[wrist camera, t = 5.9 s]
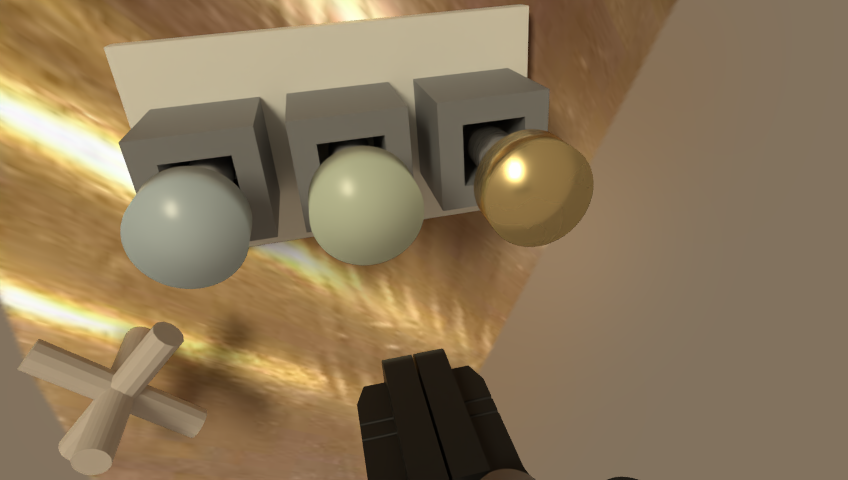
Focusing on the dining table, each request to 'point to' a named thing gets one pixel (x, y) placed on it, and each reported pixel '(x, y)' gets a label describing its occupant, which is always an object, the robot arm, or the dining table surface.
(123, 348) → the pipe connector
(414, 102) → the socket board
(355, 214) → the sage plug
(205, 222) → the slate plug
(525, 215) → the brass plug
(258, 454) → the dining table surface
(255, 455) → the dining table surface
